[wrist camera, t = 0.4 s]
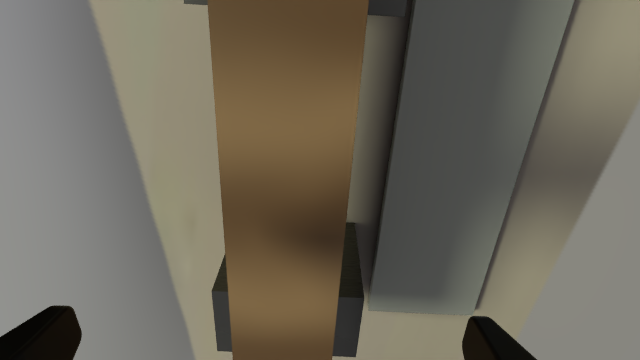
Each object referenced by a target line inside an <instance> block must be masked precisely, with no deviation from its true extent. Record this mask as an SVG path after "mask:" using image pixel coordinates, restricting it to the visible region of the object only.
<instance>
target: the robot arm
mask: <svg viewBox="0 0 640 360" xmlns="http://www.w3.org/2000/svg"><path fill="white" fill-rule="evenodd" d="M81 335H82V333H81V328H80V326H79V323H78V320H77V318H76V314H75V312H74V309H73V308H72V307H70V306H50V307H48V308H47V309H45V310H43V311H42V312H40V313H38V314H37V315H35V316H33V317H32V318H30V319H29V320H27V321H26V322H24V323H22V324H21V325H19V326H17V327H16V328H14V329H12V330H11V331H9V332H8V333H6V334H4V335H3V336H1V337H0V360H73V358H74V356H75V353H76V351H77V349H78V346H79V344H80V341H81ZM462 349H463V355H464V359H465V360H537V359H536V358H534V357H533V356H532V355H531V354H530V353H529V352H528V351H526V350H525V349H524V348H523V347H522V346H521V345H520V344H519V343H518V342H517V341H516V340H514V339H513V338H512V337H511V336H510V335H509V334H508V333H507V332H506V331H504V330H503V329H502V328H501V327H500V326H499V325H498V324H497V323H496V322H494V321H493V320H492V319H491V318H489V317H485V316H472V317H470V318H469V320H468V323H467V327H466V330H465V334H464V337H463V341H462Z"/></svg>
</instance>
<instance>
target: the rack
mask: <svg viewBox="0 0 640 360" xmlns="http://www.w3.org/2000/svg"><path fill="white" fill-rule="evenodd" d="M184 4H198V5H208V0H184ZM406 4H407V0H369V4H368V13H367V15H380V16H396V17H405V11H406ZM212 299H213V310H214V320H215V330H216V341H217V351H229V352H232V339H231V325H230V311H229V297H228V283H227V268H226V254H225V255H224V258H223V261H222V264H221V267H220V269H219V272H218V275H217V278H216V281H215V283H214V286H213V289H212ZM363 303H364V293H363V285H362V277H361V269H360V262H359V254H358V246H357V238H356V231H355V223H346V228H345V237H344V247H343V257H342V267H341V276H340V286H339V296H338V306H337V315H336V325H335V335H334V345H333V354H332V356H343V357H356V352H357V345H358V338H359V331H360V324H361V317H362V310H363Z"/></svg>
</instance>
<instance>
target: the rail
mask: <svg viewBox="0 0 640 360" xmlns="http://www.w3.org/2000/svg"><path fill="white" fill-rule="evenodd" d="M368 4H369V0H208V14H209V28H210V42H211V56H212V70H213V85H214V99H215V113H216V127H217V141H218V155H219V169H220V184H221V198H222V212H223V226H224V240H225V254H226V268H227V283H228V297H229V311H230V325H231V339H232V353H233V360H332V354H333V345H334V335H335V325H336V315H337V306H338V296H339V286H340V276H341V267H342V257H343V247H344V237H345V228H346V218H347V208H348V198H349V189H350V179H351V169H352V159H353V150H354V140H355V130H356V120H357V111H358V101H359V91H360V81H361V72H362V62H363V52H364V42H365V33H366V23H367V13H368Z"/></svg>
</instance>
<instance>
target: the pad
mask: <svg viewBox="0 0 640 360" xmlns="http://www.w3.org/2000/svg"><path fill="white" fill-rule="evenodd" d="M573 3H574V0H413V4H412V11H411V18H410V24H409V31H408V38H407V44H406V51H405V58H404V64H403V71H402V78H401V84H400V91H399V98H398V104H397V111H396V118H395V124H394V131H393V138H392V144H391V151H390V158H389V164H388V171H387V178H386V184H385V191H384V198H383V204H382V211H381V217H380V224H379V231H378V237H377V244H376V251H375V257H374V264H373V271H372V277H371V284H370V291H369V297H368V311H385V312H407V313H428V314H450V315H473V312H474V309H475V306H476V303H477V300H478V297H479V294H480V291H481V288H482V285H483V282H484V278H485V275H486V272H487V269H488V266H489V263H490V260H491V257H492V254H493V251H494V248H495V244H496V241H497V238H498V235H499V232H500V229H501V226H502V223H503V220H504V217H505V214H506V210H507V207H508V204H509V201H510V198H511V195H512V192H513V189H514V186H515V183H516V180H517V176H518V173H519V170H520V167H521V164H522V161H523V158H524V155H525V152H526V149H527V146H528V142H529V139H530V136H531V133H532V130H533V127H534V124H535V121H536V118H537V115H538V112H539V109H540V105H541V102H542V99H543V96H544V93H545V90H546V87H547V84H548V81H549V78H550V75H551V71H552V68H553V65H554V62H555V59H556V56H557V53H558V50H559V47H560V44H561V41H562V37H563V34H564V31H565V28H566V25H567V22H568V19H569V16H570V13H571V10H572V7H573Z"/></svg>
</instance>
